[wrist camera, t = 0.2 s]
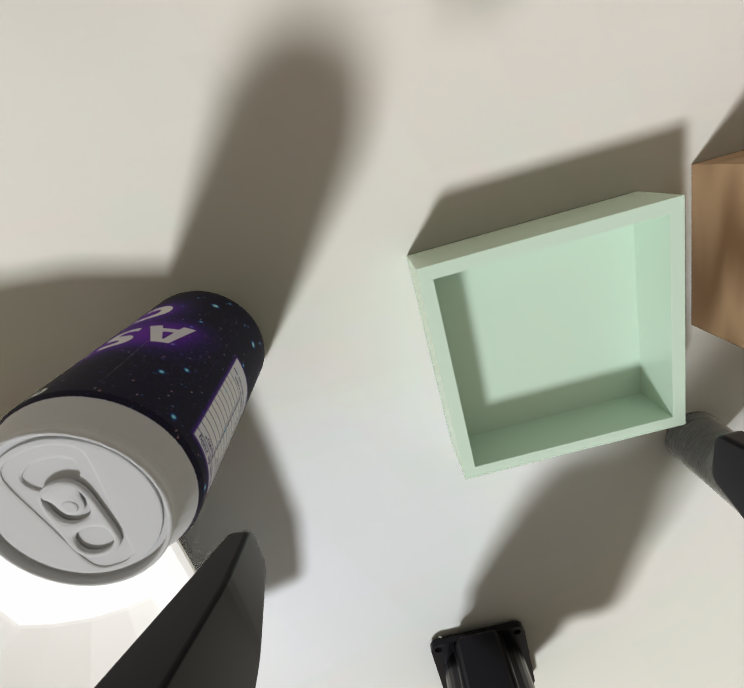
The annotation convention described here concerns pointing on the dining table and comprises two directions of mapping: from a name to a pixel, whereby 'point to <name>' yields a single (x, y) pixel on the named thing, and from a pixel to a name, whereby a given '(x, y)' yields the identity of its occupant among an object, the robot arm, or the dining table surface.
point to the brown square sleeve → (718, 247)
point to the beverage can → (126, 443)
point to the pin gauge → (697, 445)
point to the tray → (558, 330)
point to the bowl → (78, 622)
